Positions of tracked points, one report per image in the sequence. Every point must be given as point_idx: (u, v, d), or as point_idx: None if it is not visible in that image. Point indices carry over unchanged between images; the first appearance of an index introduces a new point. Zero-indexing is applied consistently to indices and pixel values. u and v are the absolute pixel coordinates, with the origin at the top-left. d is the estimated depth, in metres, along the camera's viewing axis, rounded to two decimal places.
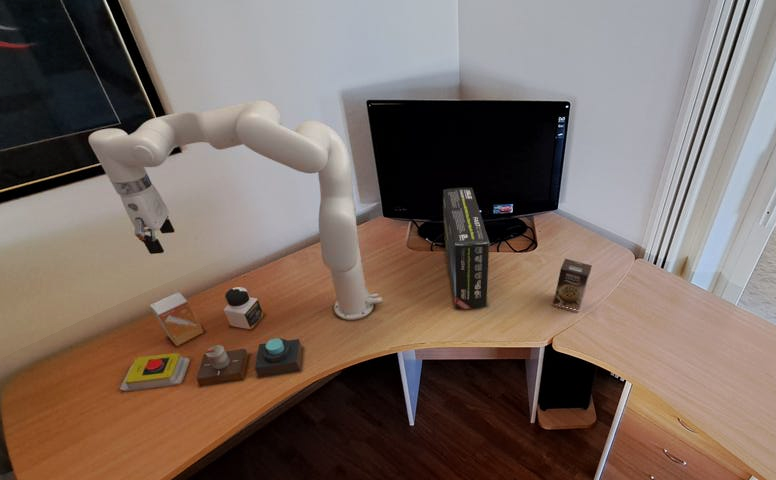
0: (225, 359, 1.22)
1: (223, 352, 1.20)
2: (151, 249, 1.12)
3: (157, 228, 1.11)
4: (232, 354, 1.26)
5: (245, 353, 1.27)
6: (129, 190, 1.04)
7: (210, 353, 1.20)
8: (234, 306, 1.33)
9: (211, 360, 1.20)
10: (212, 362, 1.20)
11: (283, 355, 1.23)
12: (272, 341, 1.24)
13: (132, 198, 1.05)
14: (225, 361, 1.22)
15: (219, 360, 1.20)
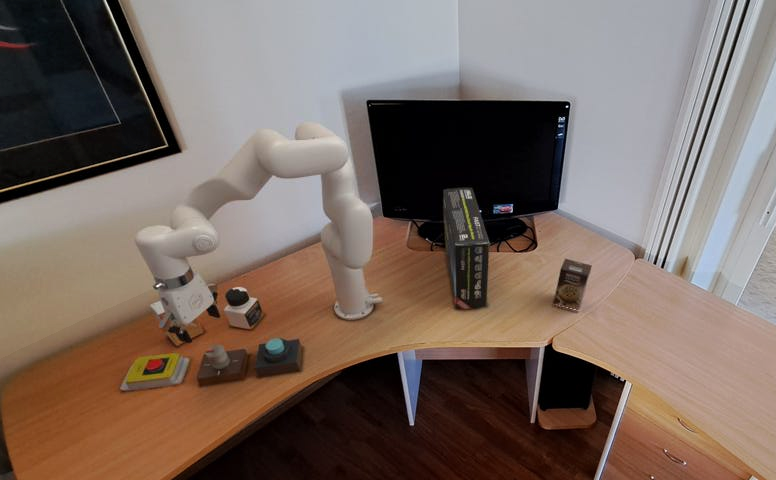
0: (225, 359, 1.22)
1: (223, 352, 1.20)
2: (179, 338, 1.09)
3: (185, 323, 1.06)
4: (232, 354, 1.26)
5: (245, 353, 1.27)
6: (162, 286, 1.00)
7: (210, 353, 1.20)
8: (234, 306, 1.33)
9: (211, 360, 1.20)
10: (212, 362, 1.20)
11: (283, 355, 1.23)
12: (272, 341, 1.24)
13: (164, 294, 1.01)
14: (225, 361, 1.22)
15: (219, 360, 1.20)
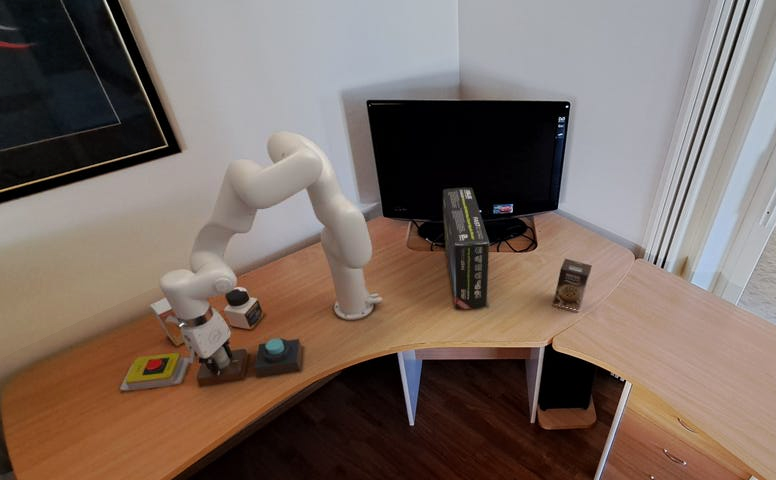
0: (225, 359, 1.22)
1: (223, 352, 1.20)
2: (208, 367, 1.20)
3: (206, 357, 1.14)
4: (232, 354, 1.26)
5: (245, 353, 1.27)
6: (185, 325, 1.08)
7: None
8: (234, 306, 1.33)
9: None
10: None
11: (283, 355, 1.23)
12: (272, 341, 1.24)
13: (186, 332, 1.09)
14: (225, 361, 1.22)
15: (219, 360, 1.20)
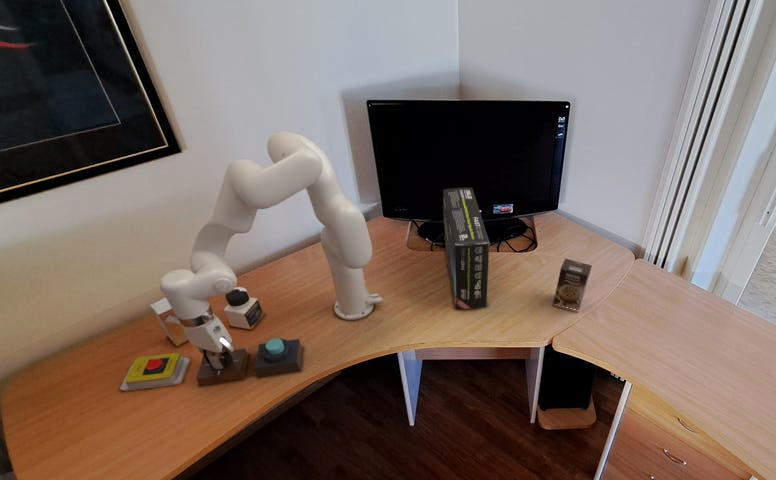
0: None
1: None
2: (228, 362, 1.21)
3: None
4: (232, 354, 1.26)
5: (245, 353, 1.27)
6: None
7: (216, 353, 1.20)
8: (234, 306, 1.33)
9: None
10: None
11: (283, 355, 1.23)
12: (272, 341, 1.24)
13: (215, 321, 1.12)
14: None
15: None
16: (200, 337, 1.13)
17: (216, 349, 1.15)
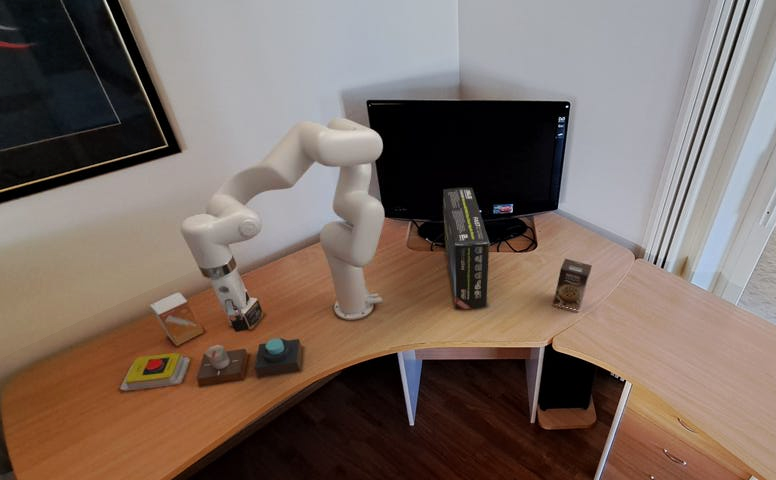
0: None
1: None
2: (238, 328, 1.10)
3: (244, 306, 1.08)
4: (232, 354, 1.26)
5: (245, 353, 1.27)
6: (221, 274, 1.01)
7: (216, 353, 1.20)
8: None
9: (223, 356, 1.21)
10: (224, 358, 1.21)
11: (283, 355, 1.23)
12: (272, 341, 1.24)
13: (223, 281, 1.02)
14: None
15: None
16: None
17: (222, 307, 1.07)
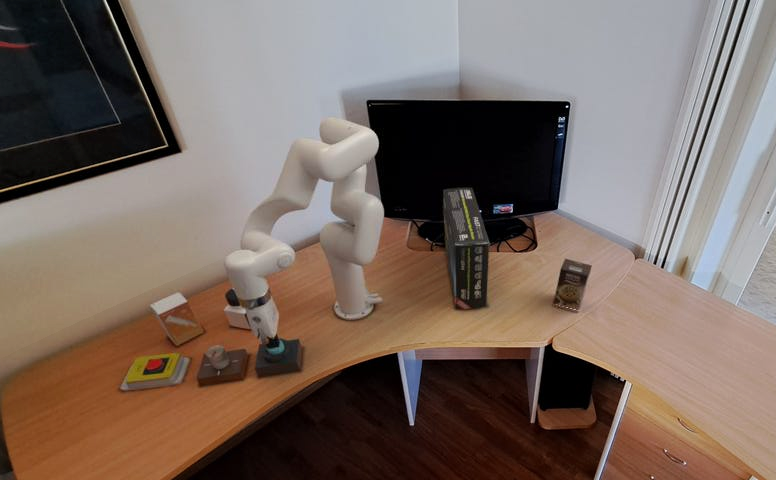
0: None
1: None
2: (269, 345, 1.21)
3: (274, 335, 1.15)
4: (232, 354, 1.26)
5: (245, 353, 1.27)
6: (255, 305, 1.09)
7: (216, 353, 1.20)
8: (234, 306, 1.33)
9: (223, 356, 1.21)
10: (224, 358, 1.21)
11: (283, 355, 1.23)
12: None
13: (257, 312, 1.09)
14: None
15: None
16: None
17: None
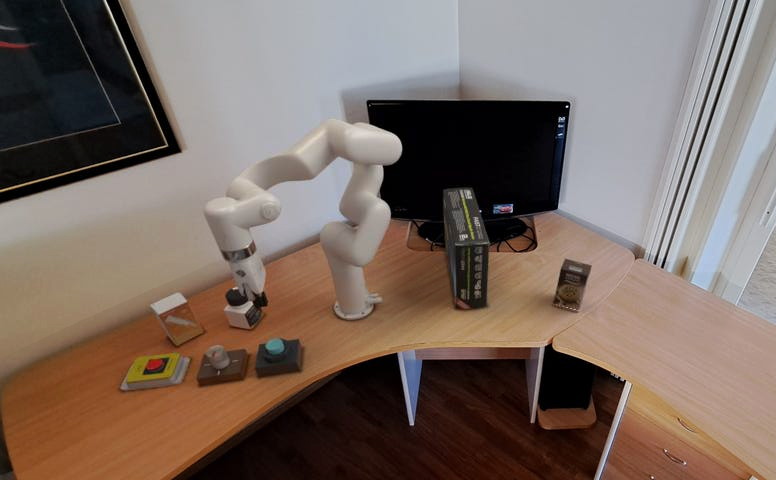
0: None
1: None
2: (257, 304, 1.15)
3: (261, 291, 1.10)
4: (232, 354, 1.26)
5: (245, 353, 1.27)
6: (238, 258, 1.03)
7: (216, 353, 1.20)
8: (234, 306, 1.33)
9: (223, 356, 1.21)
10: (224, 358, 1.21)
11: (283, 355, 1.23)
12: (272, 341, 1.24)
13: (241, 265, 1.03)
14: None
15: None
16: None
17: None
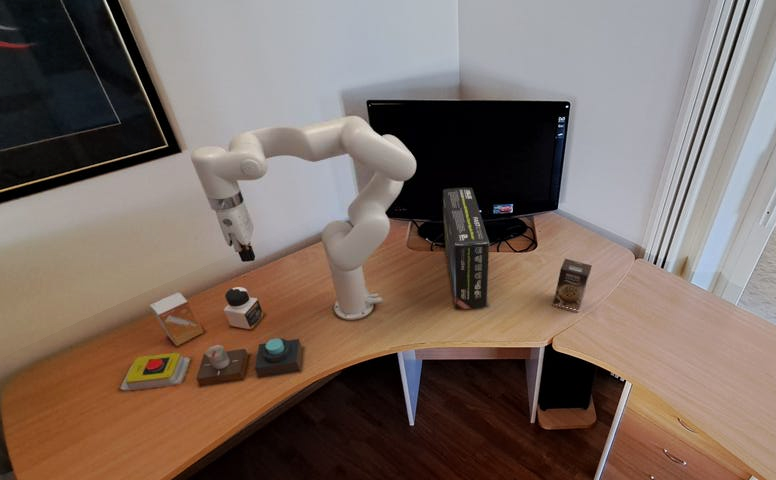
0: None
1: None
2: (244, 257, 1.18)
3: (247, 243, 1.12)
4: (232, 354, 1.26)
5: (245, 353, 1.27)
6: (225, 206, 1.05)
7: (216, 353, 1.20)
8: (234, 306, 1.33)
9: (223, 356, 1.21)
10: (224, 358, 1.21)
11: (283, 355, 1.23)
12: (272, 341, 1.24)
13: (227, 214, 1.06)
14: None
15: None
16: None
17: None
